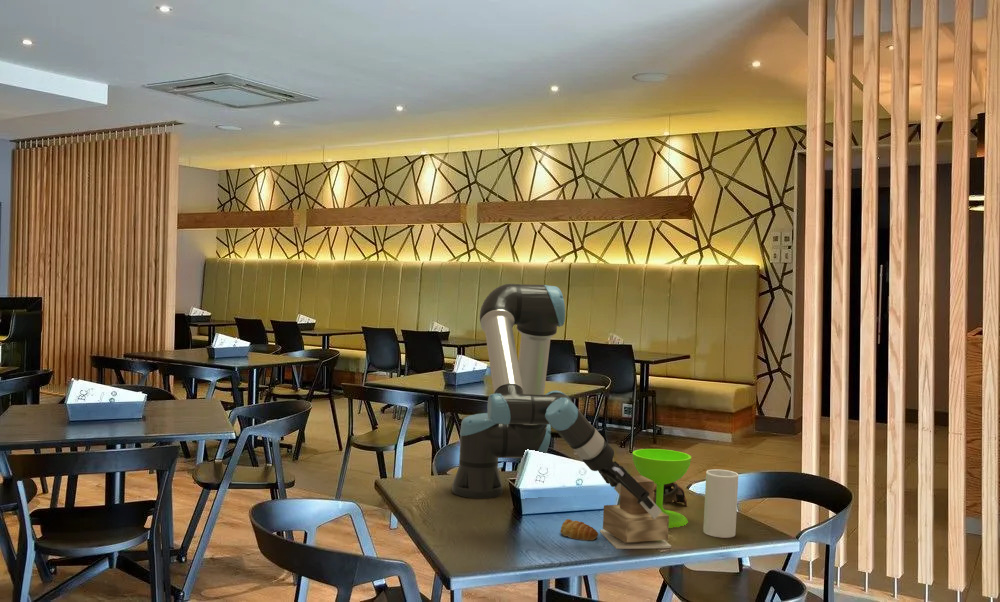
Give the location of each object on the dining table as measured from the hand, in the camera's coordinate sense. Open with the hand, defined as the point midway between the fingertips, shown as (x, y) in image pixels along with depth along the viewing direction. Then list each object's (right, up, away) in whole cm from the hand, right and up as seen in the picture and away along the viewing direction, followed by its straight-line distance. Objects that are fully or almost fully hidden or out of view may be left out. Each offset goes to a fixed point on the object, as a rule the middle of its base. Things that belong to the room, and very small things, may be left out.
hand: (644, 508), depth 224 cm
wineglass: (+7, -8, +19) cm, 22 cm away
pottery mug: (+13, -8, +36) cm, 39 cm away
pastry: (-17, -8, +1) cm, 19 cm away
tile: (-3, -8, -1) cm, 8 cm away
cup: (+21, -9, +9) cm, 24 cm away
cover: (-3, -6, -1) cm, 7 cm away
